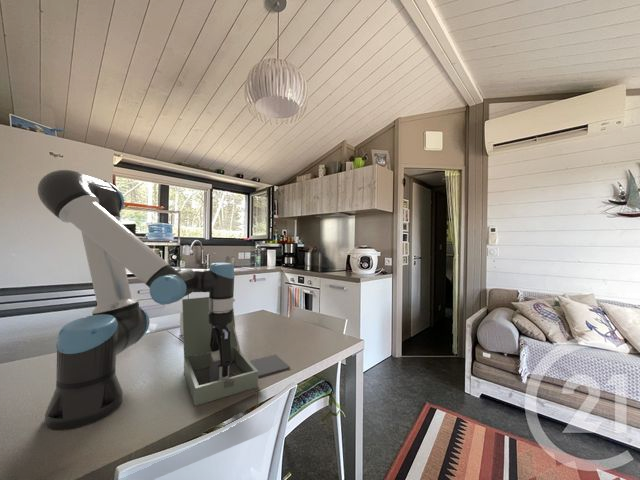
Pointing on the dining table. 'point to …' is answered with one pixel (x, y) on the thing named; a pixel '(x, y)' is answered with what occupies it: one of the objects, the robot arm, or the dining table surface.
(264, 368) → the mat
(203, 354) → the case
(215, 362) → the block
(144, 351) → the dining table surface
